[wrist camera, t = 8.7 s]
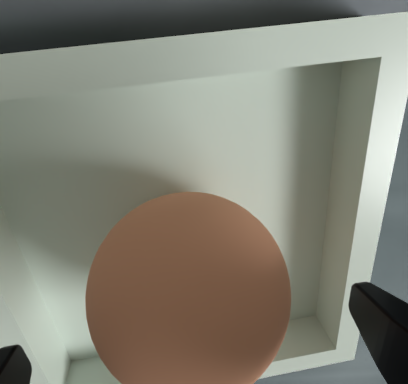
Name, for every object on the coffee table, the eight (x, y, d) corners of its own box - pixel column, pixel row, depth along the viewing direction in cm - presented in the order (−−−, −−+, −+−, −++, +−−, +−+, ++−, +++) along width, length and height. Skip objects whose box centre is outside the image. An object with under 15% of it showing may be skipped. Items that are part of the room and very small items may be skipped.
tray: (327, 316, 16) (354, 359, 14) (59, 367, 15) (43, 422, 13) (365, 16, 10) (425, 9, 8) (-89, 64, 9) (-171, 71, 7)
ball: (256, 278, 14) (322, 429, 8) (121, 303, 13) (99, 482, 8) (253, 152, 11) (349, 255, 6) (83, 176, 10) (11, 317, 5)
